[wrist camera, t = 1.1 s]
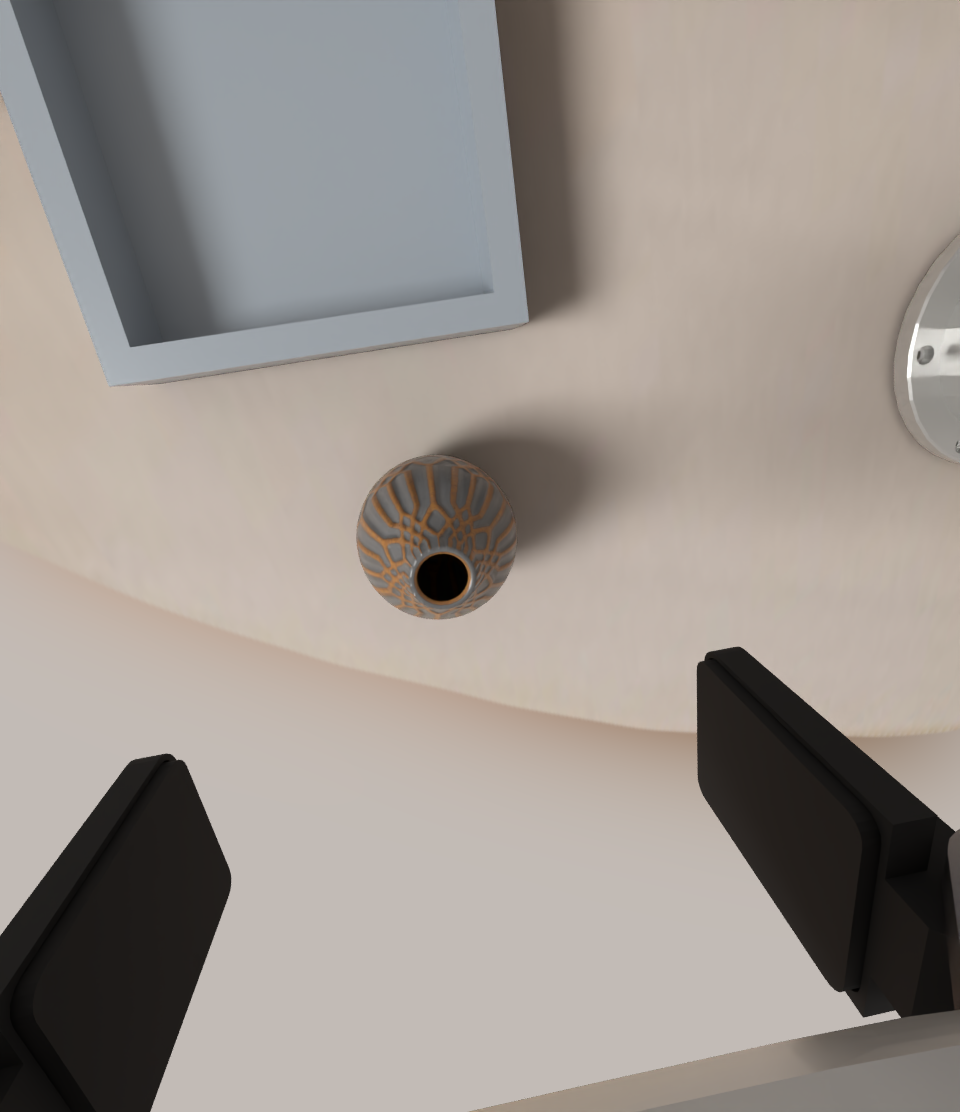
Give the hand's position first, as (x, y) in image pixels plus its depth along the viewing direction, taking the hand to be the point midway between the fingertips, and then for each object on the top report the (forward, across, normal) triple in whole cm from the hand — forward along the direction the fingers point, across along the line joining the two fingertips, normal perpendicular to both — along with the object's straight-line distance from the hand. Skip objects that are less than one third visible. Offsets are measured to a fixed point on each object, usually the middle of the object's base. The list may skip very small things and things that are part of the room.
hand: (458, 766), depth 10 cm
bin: (+18, +3, -16) cm, 24 cm away
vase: (+18, 0, 0) cm, 18 cm away
